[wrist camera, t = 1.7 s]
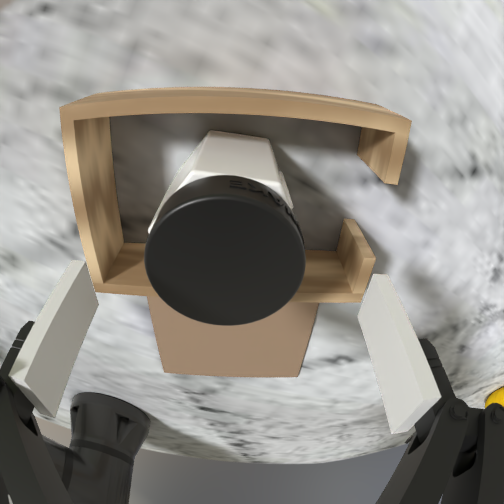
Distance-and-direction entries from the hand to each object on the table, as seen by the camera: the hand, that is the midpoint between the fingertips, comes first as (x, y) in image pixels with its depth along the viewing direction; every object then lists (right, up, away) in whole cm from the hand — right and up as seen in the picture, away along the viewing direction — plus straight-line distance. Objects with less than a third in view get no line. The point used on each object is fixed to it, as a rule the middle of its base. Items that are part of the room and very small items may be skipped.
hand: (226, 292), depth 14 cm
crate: (-1, +8, +11) cm, 14 cm away
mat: (-1, -7, +22) cm, 23 cm away
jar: (-1, +8, +12) cm, 14 cm away
